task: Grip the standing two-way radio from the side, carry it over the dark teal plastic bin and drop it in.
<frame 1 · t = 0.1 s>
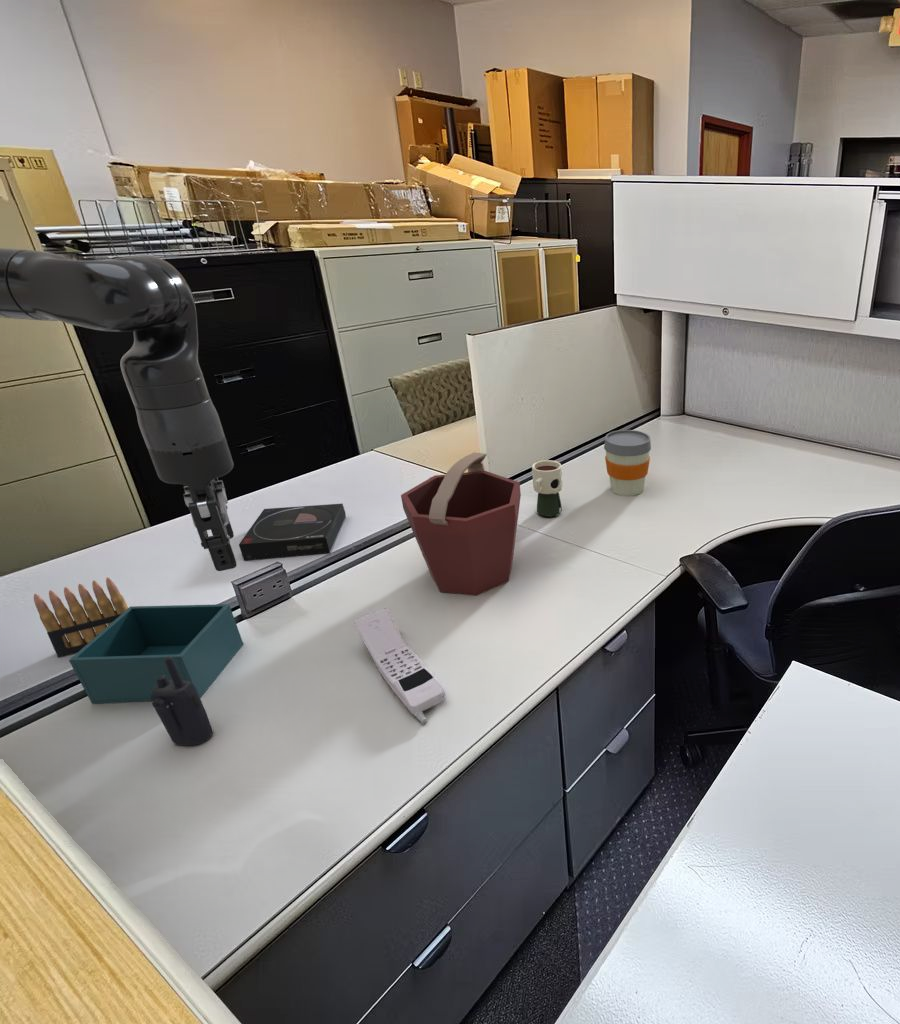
hand: (225, 553, 81), 29 cm above the table, tool pointing down, fingers open, 8 cm apart
ammunition clip: (101, 644, 106), on the table
character mug: (549, 513, 156), on the table
bin: (172, 672, 101), on the table
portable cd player: (298, 538, 140), on the table
mobile phone: (403, 677, 102), on the table
two-way radio: (191, 742, 89), on the table
bucket: (476, 573, 130), on the table
reusable coffee cup: (627, 489, 170), on the table
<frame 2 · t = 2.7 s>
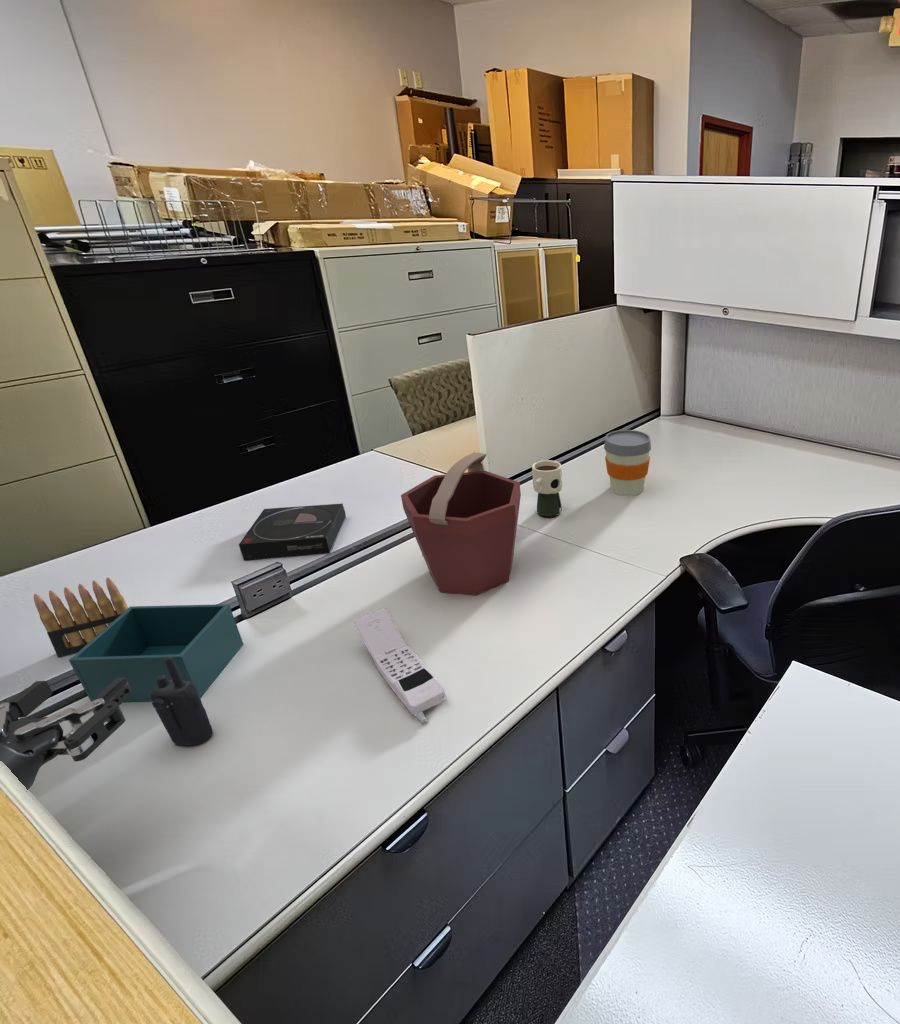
hand: (86, 684, 71), 20 cm above the table, tool horizontal, fingers open, 8 cm apart
nothing on the table moved.
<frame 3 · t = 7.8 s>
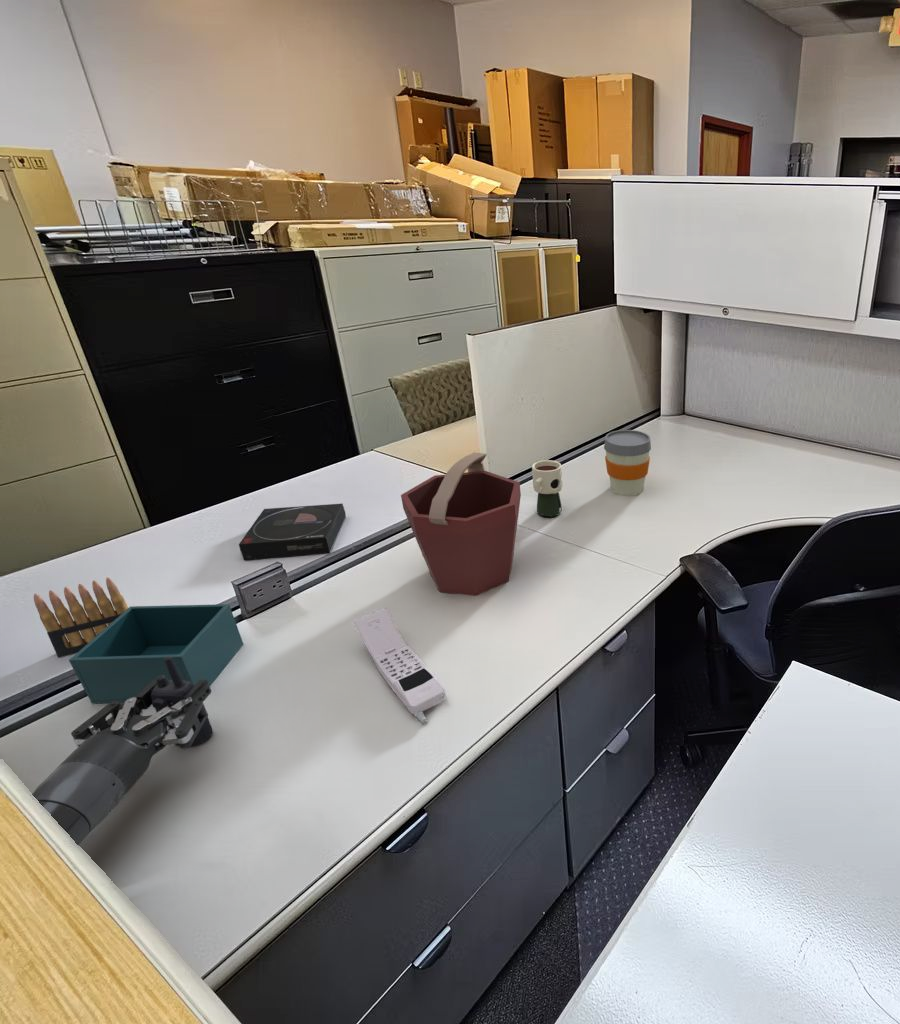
hand: (183, 684, 87), 9 cm above the table, tool horizontal, fingers closed on two-way radio, 5 cm apart
two-way radio: (191, 742, 89), on the table, touching gripper
everything else where it was.
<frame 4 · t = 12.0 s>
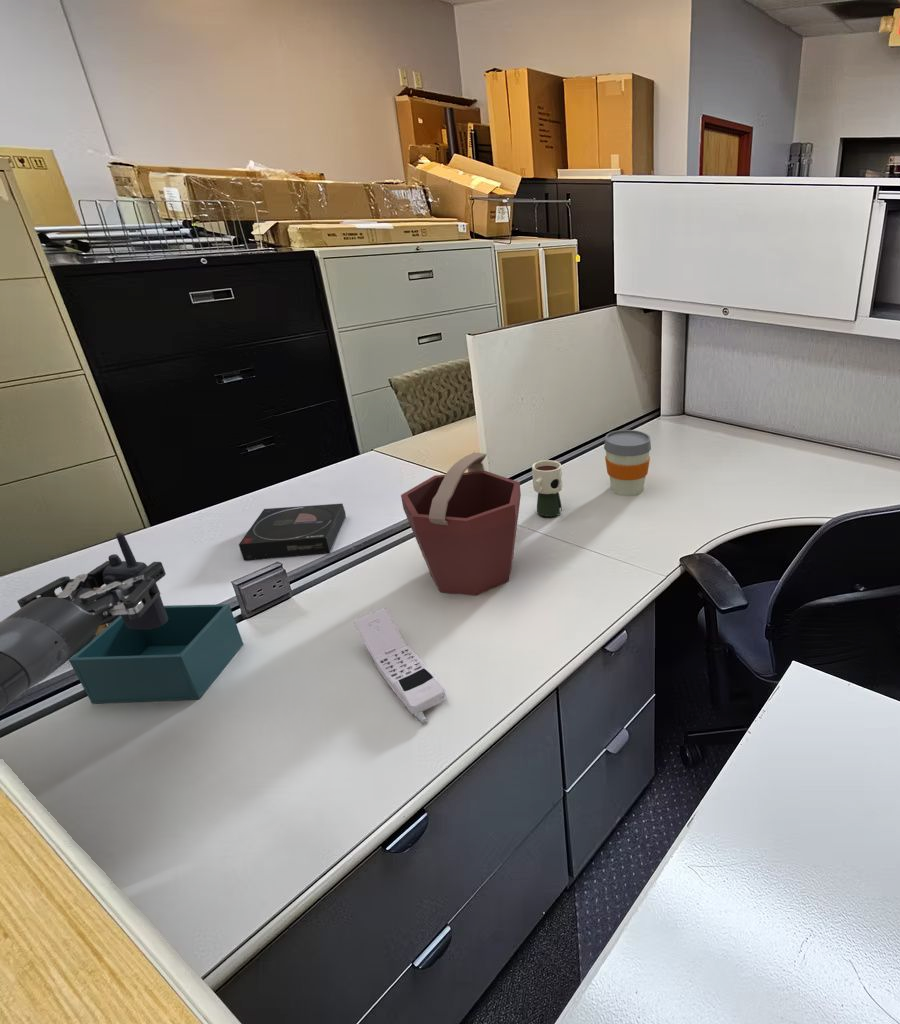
hand: (137, 566, 86), 24 cm above the table, tool horizontal, fingers closed on two-way radio, 5 cm apart
two-way radio: (145, 628, 88), point 15 cm above the table, touching gripper
everything else where it was.
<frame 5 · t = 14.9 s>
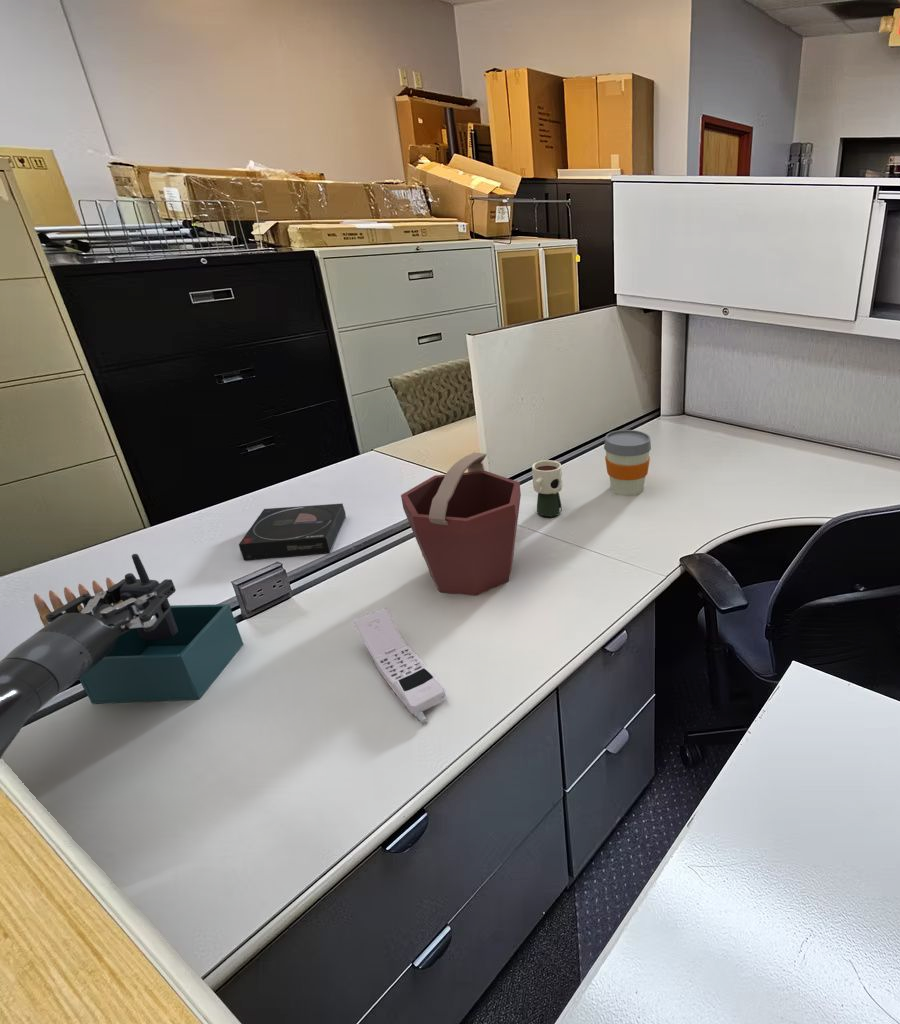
hand: (150, 584, 96), 16 cm above the table, tool horizontal, fingers closed on two-way radio, 5 cm apart
two-way radio: (157, 639, 97), point 7 cm above the table, touching gripper
everything else where it was.
when the fingers open (12 cm above the table, at t = 16.6 s): two-way radio drops 3 cm, resting on bin.
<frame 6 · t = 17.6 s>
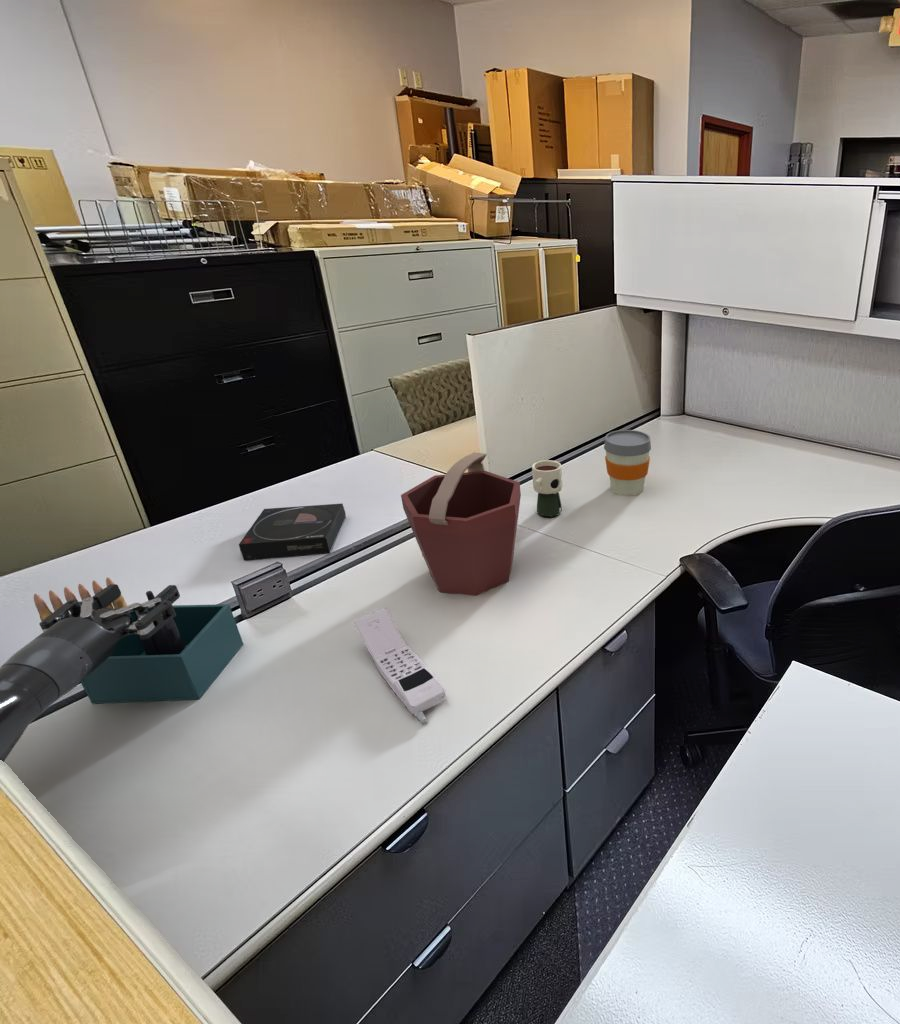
hand: (146, 589, 95), 15 cm above the table, tool horizontal, fingers open, 8 cm apart
two-way radio: (170, 670, 100), resting on bin
everything else where it was.
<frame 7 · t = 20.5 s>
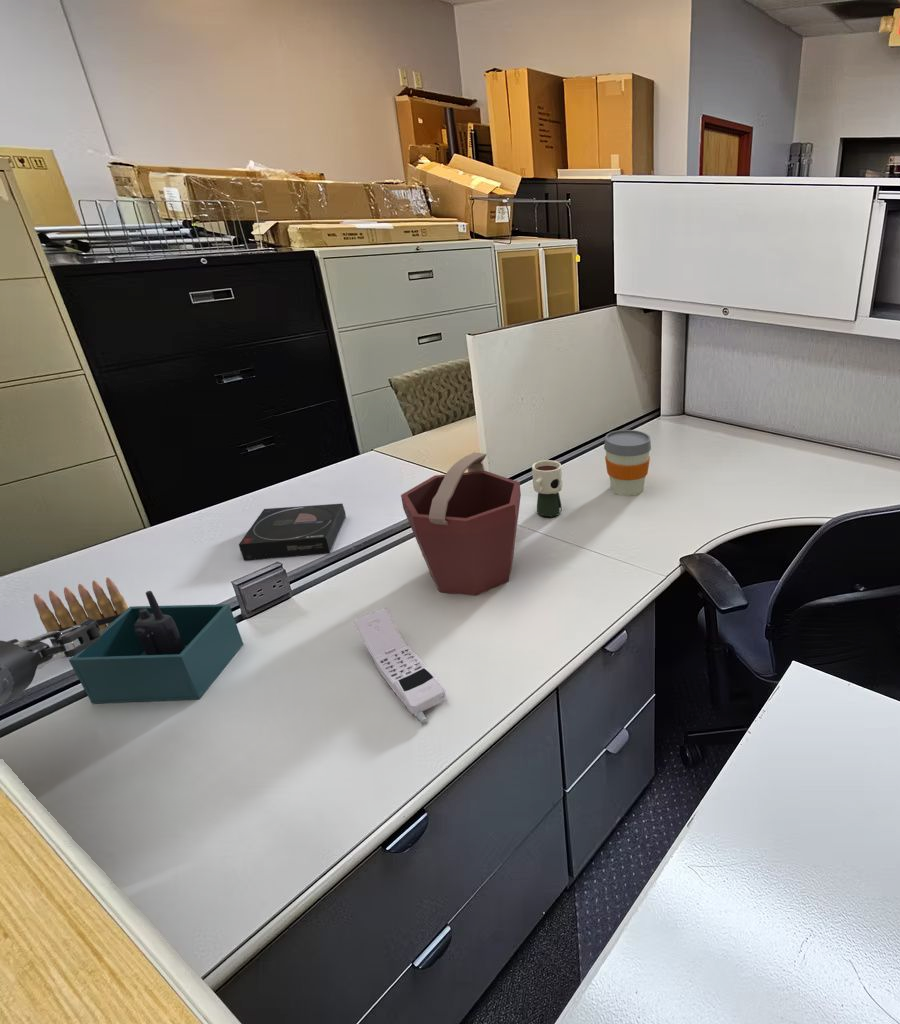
hand: (55, 635, 84), 16 cm above the table, tool tilted 70°, fingers open, 8 cm apart
nothing on the table moved.
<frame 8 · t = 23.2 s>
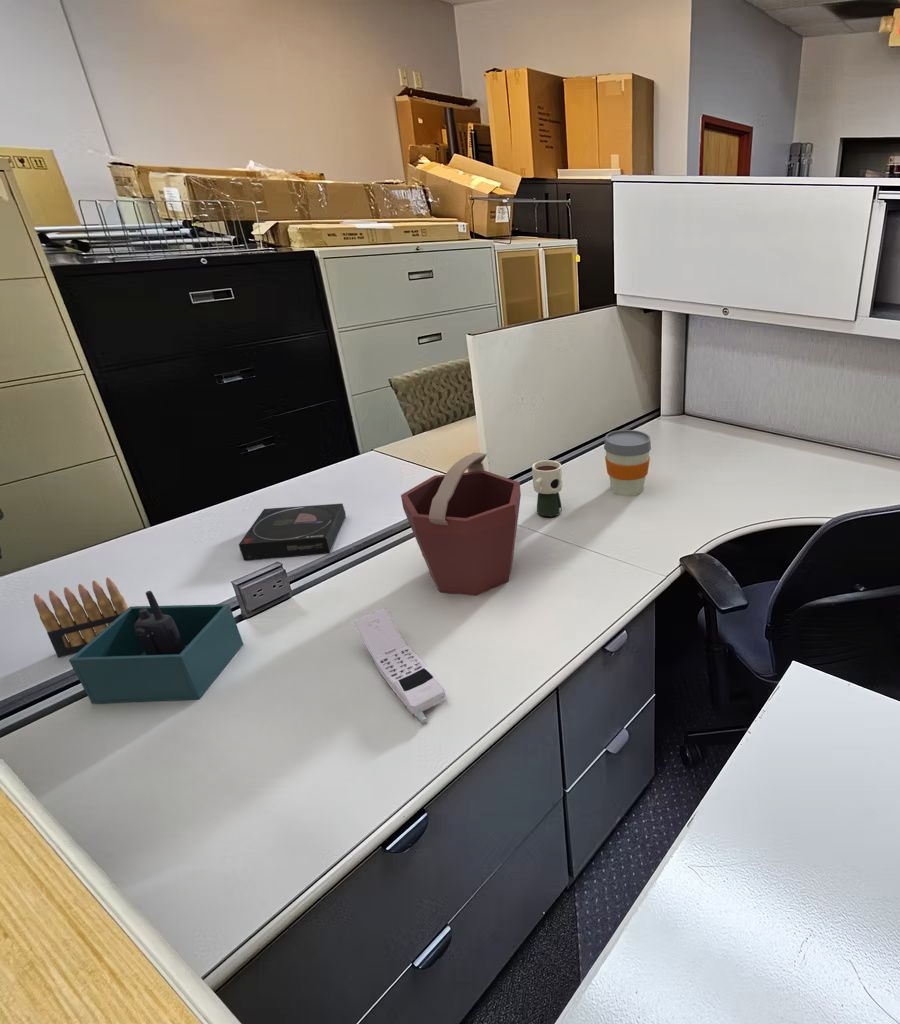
nothing on the table moved.
at the end: two-way radio inside the target area in the bin (0.1 cm from its centre), point 0.4 cm above the bin's base; the gripper is holding nothing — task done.
